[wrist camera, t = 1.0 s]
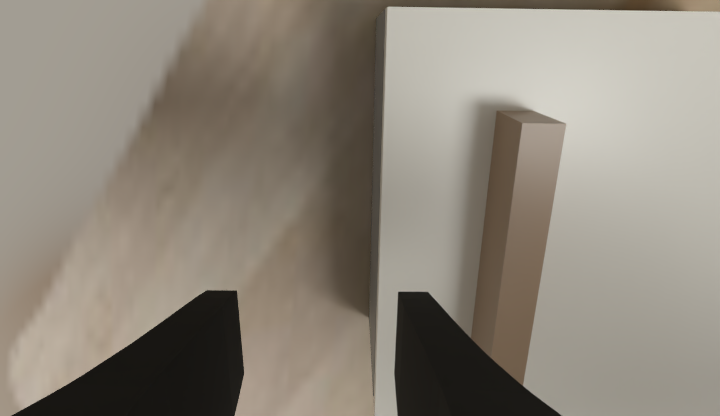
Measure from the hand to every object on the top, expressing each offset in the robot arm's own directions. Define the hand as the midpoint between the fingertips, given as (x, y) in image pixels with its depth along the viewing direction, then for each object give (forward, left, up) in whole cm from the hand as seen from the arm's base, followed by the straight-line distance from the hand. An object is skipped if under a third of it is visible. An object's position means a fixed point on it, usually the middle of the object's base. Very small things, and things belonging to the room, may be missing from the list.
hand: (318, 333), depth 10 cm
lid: (-8, 0, -5) cm, 9 cm away
